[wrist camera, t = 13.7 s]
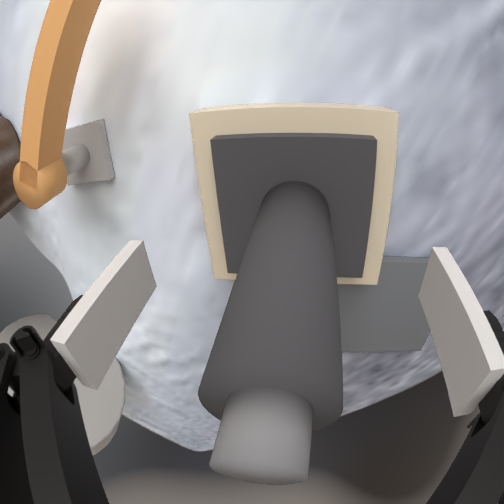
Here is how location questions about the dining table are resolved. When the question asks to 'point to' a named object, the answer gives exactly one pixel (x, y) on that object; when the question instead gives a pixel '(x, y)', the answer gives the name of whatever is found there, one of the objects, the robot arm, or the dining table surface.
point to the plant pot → (8, 165)
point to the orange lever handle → (51, 100)
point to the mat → (385, 309)
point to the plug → (284, 293)
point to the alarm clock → (85, 389)
